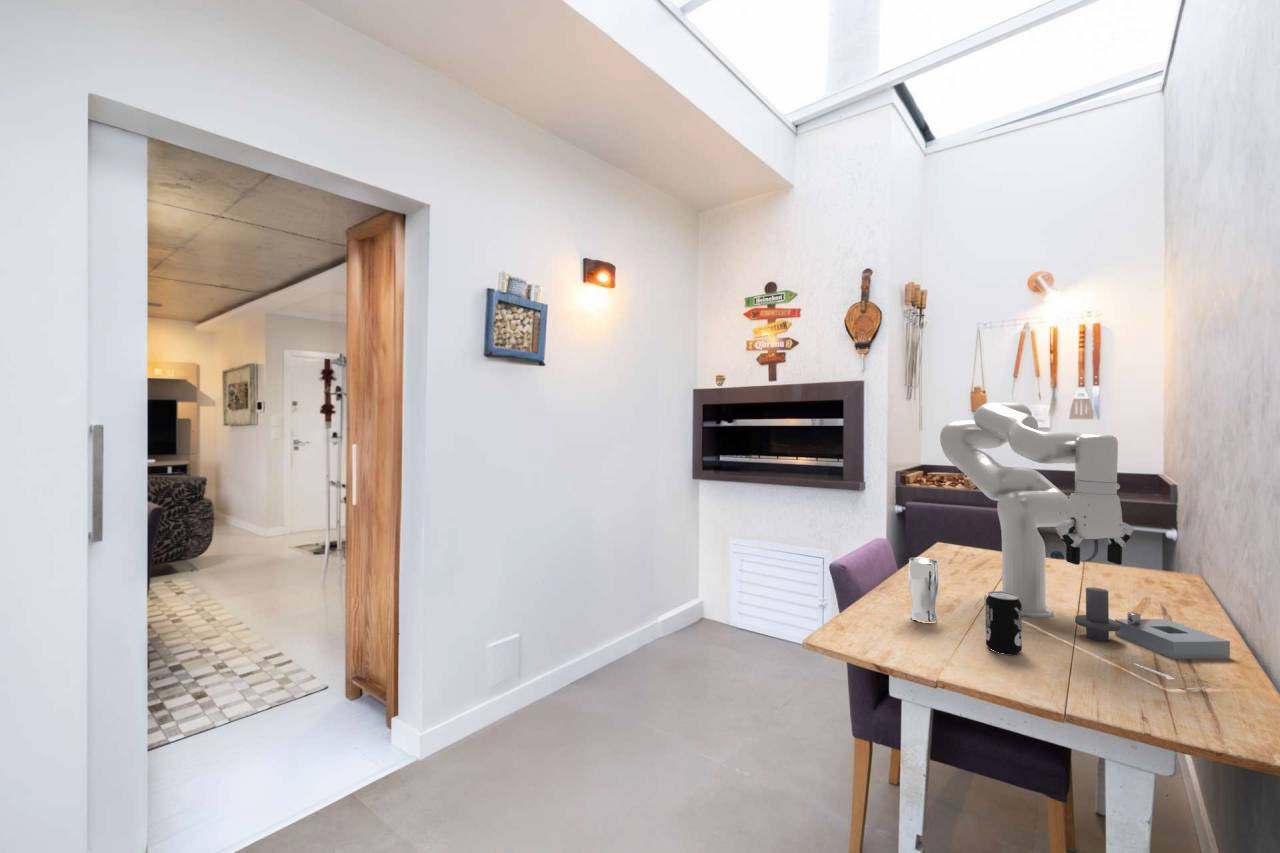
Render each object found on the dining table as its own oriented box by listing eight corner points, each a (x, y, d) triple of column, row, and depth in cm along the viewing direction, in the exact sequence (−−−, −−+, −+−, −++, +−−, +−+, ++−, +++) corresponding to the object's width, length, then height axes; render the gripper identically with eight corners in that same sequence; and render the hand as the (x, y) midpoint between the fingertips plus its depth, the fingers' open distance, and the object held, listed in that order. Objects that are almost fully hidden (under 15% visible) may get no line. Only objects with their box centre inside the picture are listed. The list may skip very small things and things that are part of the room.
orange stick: (1139, 626, 127) (1139, 616, 127) (1126, 623, 128) (1126, 613, 128) (1154, 607, 140) (1154, 598, 140) (1142, 605, 141) (1142, 596, 141)
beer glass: (909, 622, 142) (909, 562, 142) (907, 614, 148) (907, 556, 148) (940, 626, 139) (940, 564, 139) (937, 617, 146) (937, 558, 146)
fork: (1109, 656, 123) (1109, 647, 123) (1213, 697, 103) (1213, 686, 103) (1096, 657, 122) (1095, 648, 122) (1198, 698, 102) (1197, 687, 102)
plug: (1094, 647, 125) (1094, 595, 126) (1066, 634, 133) (1066, 585, 134) (1130, 647, 126) (1129, 594, 126) (1099, 634, 134) (1099, 584, 134)
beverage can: (1010, 658, 120) (1010, 600, 120) (979, 647, 125) (979, 593, 125) (1028, 652, 123) (1028, 596, 123) (997, 642, 128) (997, 589, 128)
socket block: (1173, 661, 118) (1173, 641, 118) (1115, 636, 132) (1115, 619, 132) (1229, 660, 118) (1229, 641, 118) (1165, 636, 132) (1165, 618, 132)
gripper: (1118, 486, 134) (1116, 558, 134) (1046, 486, 134) (1044, 559, 134) (1147, 490, 127) (1145, 567, 127) (1071, 490, 126) (1069, 567, 127)
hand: (1093, 563), depth 130 cm, fingers open, 9 cm apart
